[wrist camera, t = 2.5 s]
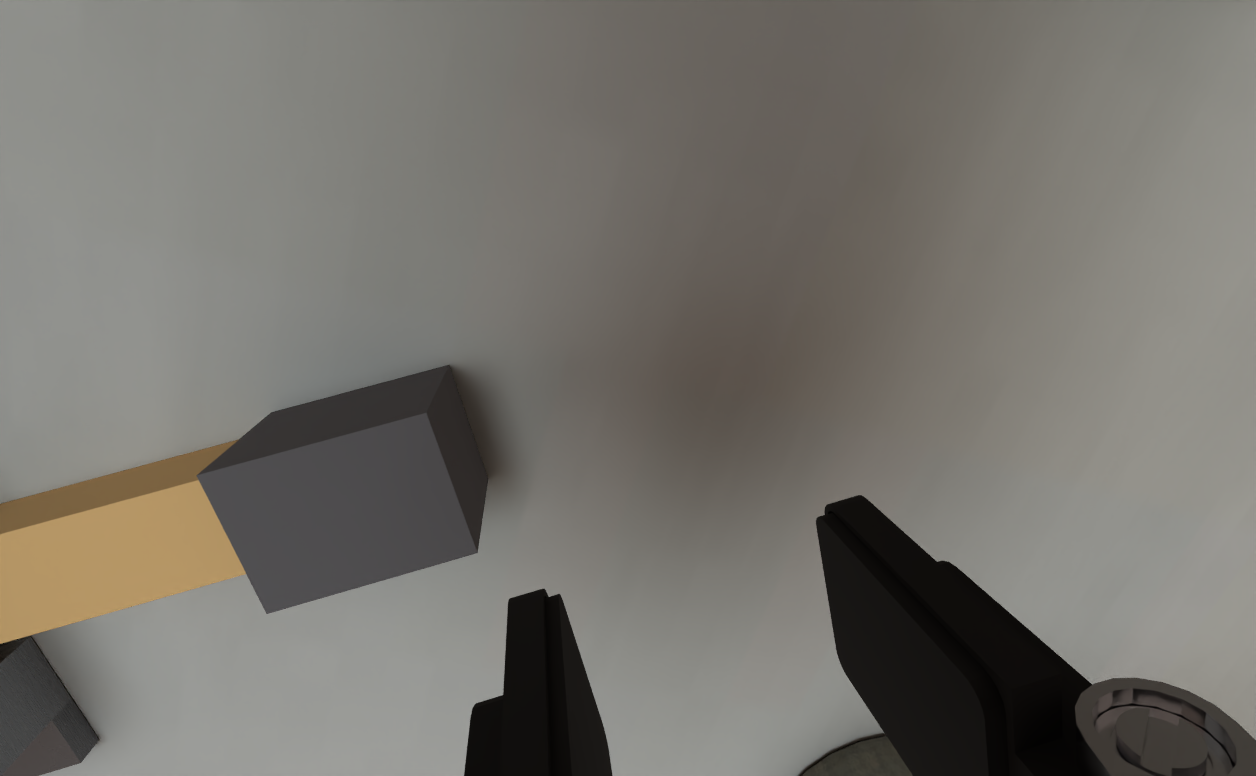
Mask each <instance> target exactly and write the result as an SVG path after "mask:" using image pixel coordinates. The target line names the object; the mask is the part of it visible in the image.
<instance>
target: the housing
mask: <svg viewBox="0 0 1256 776" xmlns="http://www.w3.org/2000/svg"><path fill="white" fill-rule="evenodd" d="M98 741H99V739H98V737H97V736H96V734H95V733H94V731H93V730H92V728H91V727H90V725H89V724H88V722H87V721H86V719H85V718H84V716H83V715H82V713H81V712H80V710H79V709H78V707H77V706H76V704H75V703H74V701H73V700H72V698H71V697H70V695H69V694H68V692H67V691H66V689H65V688H64V686H63V685H62V683H61V682H60V680H59V679H58V677H57V676H56V674H55V673H54V671H53V670H52V668H51V667H50V665H49V664H48V662H47V660H46V659H45V657H44V656H43V654H42V653H41V651H40V650H39V648H38V647H37V645H36V644H35V642H34V641H33V639H32V638H31V636H30V637H26V638H23V639H19V640H16V641H12V642H9V643H5V644H2V645H0V776H39V775H42V774H45V773H49V772H52V771H55V770H59V769H62V768H65V767H69V766H72V765H75V764H79V763H81V762H82V761H83V760H84V758H85V757H86V756H87V755H88V753H89V752H90V751H91V749H92V748H93V747H94V746H95V744H96V743H97V742H98Z"/></svg>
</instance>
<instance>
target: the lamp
mask: <svg viewBox="0 0 1256 776" xmlns="http://www.w3.org/2000/svg"><path fill="white" fill-rule="evenodd" d="M802 776H913V775H912V773H911V772H910V770H909V769H908V767H907V766H906V764H905V763H904V761H903V760H902V758H901V757H900V755H899V754H898V752H897V751H896V749H895V748H894V746H893V745H892V743H891V742H890V740H889V739H888V737H887V736H882V737H878V738H873V739H868V740H864V741H859V742H857V743H854V744H852V745H850V746H847V747H845V748H843V749H840V750H838V751H836V752H833V753H831V754H830V755H828V756H827V757H825V758H824V759H823V760H821V761H820V762H818V763H817V764H815V765H814V766H812V767H811V768H809V769H808V770H807V771H806V772H805V773H804V774H803V775H802Z"/></svg>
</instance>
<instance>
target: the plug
mask: <svg viewBox="0 0 1256 776" xmlns="http://www.w3.org/2000/svg"><path fill="white" fill-rule="evenodd" d="M487 484H488V477H487V474H486V471H485V468H484V465H483V462H482V460H481V457H480V454H479V451H478V448H477V445H476V442H475V439H474V436H473V433H472V430H471V427H470V425H469V422H468V419H467V416H466V413H465V410H464V407H463V404H462V401H461V398H460V395H459V393H458V390H457V387H456V384H455V381H454V378H453V375H452V372H451V369H450V366H449V365H447V366H443V367H439V368H436V369H432V370H428V371H424V372H421V373H417V374H413V375H410V376H406V377H402V378H398V379H395V380H391V381H387V382H383V383H380V384H376V385H372V386H368V387H365V388H361V389H357V390H354V391H350V392H346V393H342V394H339V395H335V396H331V397H327V398H324V399H320V400H316V401H312V402H309V403H305V404H301V405H298V406H294V407H290V408H286V409H283V410H279V411H275V412H271V413H270V414H269V415H268V416H267V417H265V418H264V419H263V420H262V421H261V422H259V423H258V424H257V425H256V426H255V427H253V428H252V429H251V430H250V431H249V432H247V433H246V434H245V435H244V436H243V437H242V438H240V439H239V440H235V441H232V442H228V443H224V444H221V445H217V446H213V447H210V448H206V449H202V450H198V451H195V452H191V453H187V454H184V455H180V456H176V457H172V458H169V459H165V460H161V461H158V462H154V463H150V464H147V465H143V466H139V467H135V468H132V469H128V470H124V471H121V472H117V473H113V474H109V475H106V476H102V477H98V478H95V479H91V480H87V481H84V482H80V483H76V484H72V485H69V486H65V487H61V488H58V489H54V490H50V491H46V492H43V493H39V494H35V495H32V496H28V497H24V498H21V499H17V500H13V501H9V502H6V503H2V504H0V644H2V643H5V642H9V641H12V640H16V639H19V638H23V637H26V636H30V635H33V634H37V633H40V632H44V631H47V630H51V629H54V628H58V627H61V626H65V625H68V624H72V623H75V622H79V621H82V620H86V619H89V618H93V617H96V616H100V615H103V614H107V613H110V612H114V611H117V610H121V609H125V608H128V607H132V606H135V605H139V604H142V603H146V602H149V601H153V600H156V599H160V598H163V597H167V596H170V595H174V594H177V593H181V592H184V591H188V590H191V589H195V588H198V587H202V586H205V585H209V584H212V583H216V582H219V581H223V580H226V579H230V578H233V577H237V576H240V575H244V574H247V576H248V578H249V580H250V582H251V584H252V586H253V588H254V590H255V592H256V594H257V596H258V598H259V600H260V602H261V604H262V606H263V607H264V609H265V611H266V613H267V614H268V613H272V612H275V611H279V610H282V609H286V608H289V607H292V606H296V605H299V604H303V603H306V602H310V601H313V600H317V599H320V598H324V597H327V596H330V595H334V594H337V593H341V592H344V591H348V590H351V589H355V588H358V587H361V586H365V585H368V584H372V583H375V582H379V581H382V580H386V579H389V578H393V577H396V576H399V575H403V574H406V573H410V572H413V571H417V570H420V569H424V568H427V567H431V566H434V565H437V564H441V563H444V562H448V561H451V560H455V559H458V558H462V557H465V556H468V555H472V554H475V553H478V546H479V539H480V532H481V525H482V518H483V511H484V504H485V497H486V491H487Z"/></svg>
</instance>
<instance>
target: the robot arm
mask: <svg viewBox="0 0 1256 776" xmlns="http://www.w3.org/2000/svg"><path fill="white" fill-rule="evenodd" d="M816 526H817V533H818V539H819V545H820V551H821V557H822V564H823V570H824V576H825V582H826V588H827V594H828V601H829V607H830V613H831V619H832V625H833V632H834V638H835V644H836V650H837V654H838V658H839V661H840V663H841V666H842V668H843V670H844V672H845V674H846V675H847V677H848V678H849V680H850V681H851V683H852V684H853V686H854V687H855V689H856V691H857V692H858V694H859V695H860V697H861V698H862V700H863V701H864V703H865V704H866V706H867V707H868V709H869V710H870V712H871V713H872V715H873V716H874V718H875V719H876V721H877V722H878V724H879V725H880V727H881V728H882V730H883V731H884V733H885V734H886V736H887V737H888V739H889V740H890V742H891V743H892V745H893V746H894V748H895V749H896V751H897V752H898V754H899V755H900V757H901V758H902V760H903V761H904V763H905V764H906V766H907V767H908V769H909V770H910V772H911V773H912V775H913V776H1256V740H1255V739H1254V738H1253V737H1252V736H1251V735H1250V734H1249V733H1248V732H1246V731H1245V730H1244V729H1243V728H1242V727H1241V726H1240V725H1239V724H1238V723H1237V722H1236V721H1235V720H1233V719H1232V718H1231V717H1230V716H1228V715H1227V714H1226V713H1224V712H1223V711H1222V710H1221V709H1219V708H1218V707H1217V706H1215V705H1214V704H1212V703H1210V702H1208V701H1206V700H1204V699H1203V698H1201V697H1199V696H1197V695H1195V694H1193V693H1191V692H1189V691H1187V690H1184V689H1181V688H1178V687H1175V686H1172V685H1169V684H1166V683H1163V682H1158V681H1152V680H1146V679H1140V678H1112V679H1109V680H1105V681H1102V682H1098V683H1095V684H1093V685H1092V684H1091V683H1090V682H1089V681H1087V680H1086V679H1085V678H1084V677H1083V676H1082V675H1081V674H1079V673H1078V672H1077V671H1076V670H1075V669H1074V668H1072V667H1071V666H1070V665H1069V664H1068V663H1067V662H1066V661H1064V660H1063V659H1062V658H1061V657H1060V656H1059V655H1057V654H1056V653H1055V652H1054V651H1053V650H1052V649H1051V648H1049V647H1048V646H1047V645H1046V644H1045V643H1044V642H1042V641H1041V640H1040V639H1039V638H1038V637H1037V636H1036V635H1034V634H1033V633H1032V632H1031V631H1030V630H1029V629H1027V628H1026V627H1025V626H1024V625H1023V624H1022V623H1021V622H1019V621H1018V620H1017V619H1016V618H1015V617H1014V616H1012V615H1011V614H1010V613H1009V612H1008V611H1007V610H1006V609H1004V608H1003V607H1002V606H1001V605H1000V604H999V603H997V602H996V601H995V600H994V599H993V598H992V597H991V596H989V595H988V594H987V593H986V592H985V591H984V590H982V589H981V588H980V587H979V586H978V585H977V584H975V583H974V582H973V581H972V580H971V579H970V578H969V577H967V576H966V575H965V574H964V573H963V572H962V571H960V570H959V569H958V568H957V567H955V566H954V565H953V564H951V563H950V562H946V561H939V562H937V561H935V560H934V559H933V558H932V557H931V556H930V555H929V554H928V553H926V552H925V551H924V550H923V549H922V548H921V547H920V546H919V545H918V544H916V543H915V542H914V541H913V540H912V539H911V538H910V537H909V536H907V535H906V534H905V533H904V532H903V531H902V530H901V529H900V528H899V527H897V526H896V525H895V524H894V523H893V522H892V521H891V520H890V519H888V518H887V517H886V516H885V515H884V514H883V513H882V512H881V511H880V510H878V509H877V508H876V507H875V506H874V505H873V504H872V503H871V502H870V501H868V500H867V499H866V498H865V497H863V496H862V495H858V496H854V497H851V498H848V499H844V500H841V501H838V502H834V503H831V504H827V505H826V507H825V515H823V516H820V517H818V518H817V519H816ZM464 776H612V770H611V763H610V756H609V749H608V744H607V739H606V735H605V731H604V727H603V724H602V720H601V717H600V714H599V711H598V708H597V705H596V702H595V699H594V696H593V693H592V689H591V686H590V683H589V680H588V677H587V674H586V671H585V668H584V665H583V662H582V659H581V655H580V652H579V649H578V646H577V643H576V640H575V637H574V634H573V631H572V628H571V625H570V621H569V618H568V615H567V612H566V609H565V606H564V603H563V600H562V597H561V595H560V594H557V595H554V596H551V597H548V594H547V592H546V590H545V589H540V590H537V591H534V592H530V593H527V594H523V595H520V596H517V597H513V598H510V599H509V602H508V616H507V635H506V654H505V674H504V693H503V695H502V696H499V697H496V698H492V699H489V700H486V701H483V702H479V703H476V704H475V705H474V707H473V709H472V714H471V720H470V729H469V737H468V746H467V755H466V764H465V773H464Z"/></svg>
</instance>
